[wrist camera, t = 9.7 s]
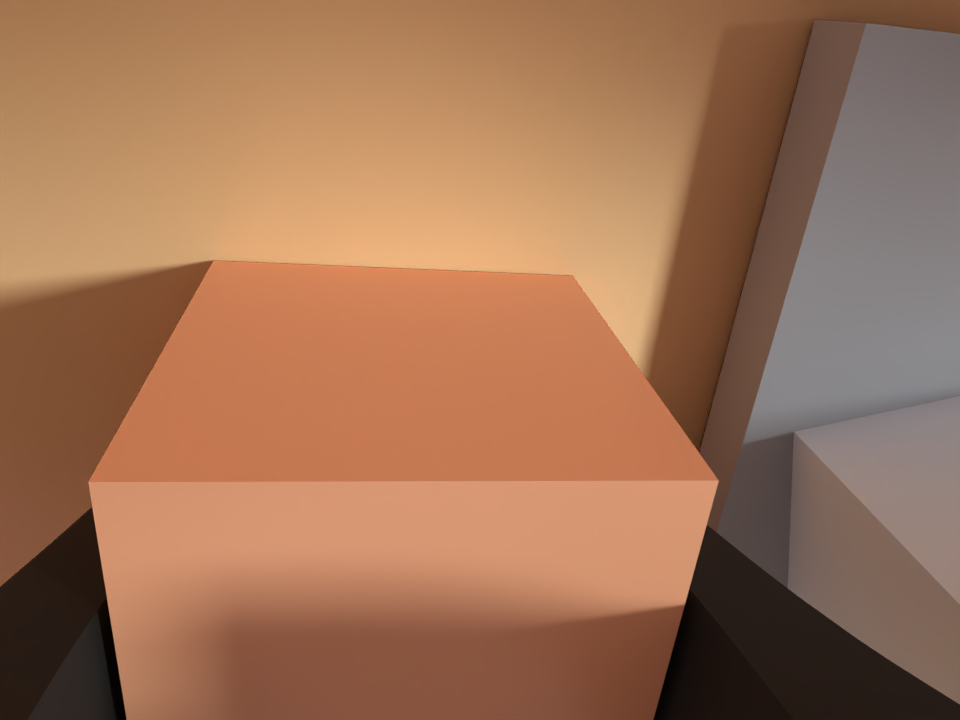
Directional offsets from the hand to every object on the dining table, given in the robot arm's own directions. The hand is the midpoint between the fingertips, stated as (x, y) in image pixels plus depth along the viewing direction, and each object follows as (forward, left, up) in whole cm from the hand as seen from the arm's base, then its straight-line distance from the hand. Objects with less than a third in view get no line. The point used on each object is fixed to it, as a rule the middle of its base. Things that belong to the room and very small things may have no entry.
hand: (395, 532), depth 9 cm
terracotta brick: (0, 0, -2) cm, 2 cm away
